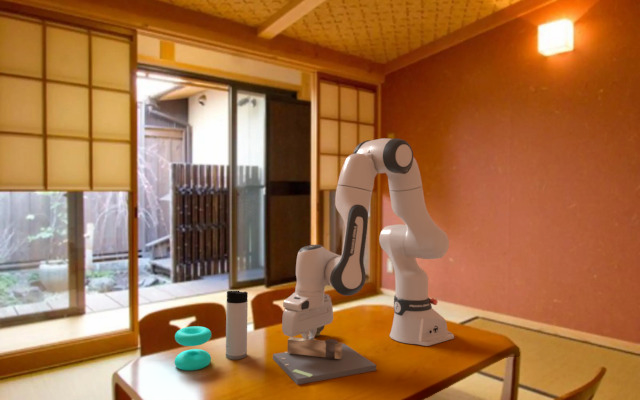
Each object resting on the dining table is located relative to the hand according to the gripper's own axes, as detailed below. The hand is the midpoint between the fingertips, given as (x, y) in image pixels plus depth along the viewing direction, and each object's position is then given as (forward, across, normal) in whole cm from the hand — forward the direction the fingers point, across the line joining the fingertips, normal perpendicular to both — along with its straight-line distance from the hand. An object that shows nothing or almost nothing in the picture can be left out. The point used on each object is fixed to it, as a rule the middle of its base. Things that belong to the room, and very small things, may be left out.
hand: (308, 343), depth 135 cm
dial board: (+4, +2, +7) cm, 9 cm away
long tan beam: (+2, +2, +4) cm, 5 cm away
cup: (+4, -16, -10) cm, 19 cm away
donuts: (+4, +27, -20) cm, 34 cm away
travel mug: (+4, +14, -16) cm, 22 cm away
